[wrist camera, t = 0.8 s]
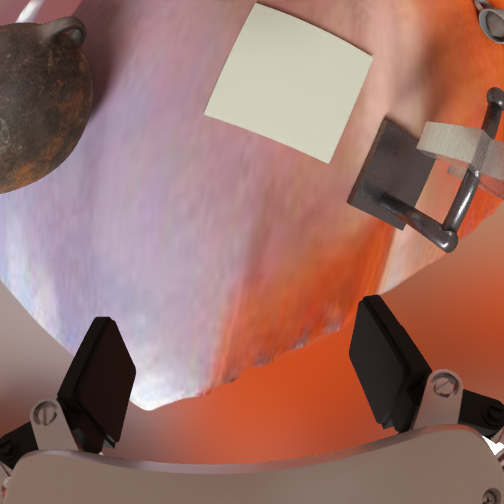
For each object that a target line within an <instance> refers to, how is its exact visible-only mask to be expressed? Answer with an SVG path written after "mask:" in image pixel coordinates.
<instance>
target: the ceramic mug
mask: <svg viewBox="0 0 504 504" xmlns="http://www.w3.org/2000/svg"><path fill="white" fill-rule="evenodd" d="M479 2H480V3H482V4H484V5H485V6H486V7H487V9H484V8H483V7H482V6H481V4H480V3H479ZM474 4H475V6H476V8H477V9H478V10H479V11H480V14H479V23H480V26H481V28H482V30H483V32H484V33H485V34H486V36H487V37H488V38H490V39H491V40H492V41H494V42H496V43H500V44H504V10H503V9H495V8H494V7H493V6H492V5H491V4H490V3H489V2H487V1H486V0H474Z"/></svg>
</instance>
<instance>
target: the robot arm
mask: <svg viewBox="0 0 504 504" xmlns="http://www.w3.org/2000/svg"><path fill="white" fill-rule="evenodd" d="M349 356H350V360H351V362H352V364H353V366H354V369H355V371H356V373H357V376H358V378H359V381H360V383H361V385H362V388H363V390H364V392H365V395H366V397H367V400H368V402H369V405H370V407H371V409H372V412H373V414H374V417H375V419H376V421H377V423H379V424H380V423H381V424H382V427H383V429H387V428H390V427H393V426H394V428H395V430H396V431H397V433H396V435H394V436H390V437H387V438H384V439H381V440H377V441H373V442H370V443H366V444H363V445H359V446H354V447H350V448H346V449H342V450H337V451H333V452H328V453H323V454H318V455H312V456H306V457H300V458H294V459H287V460H279V461H269V462H260V463H246V464H222V465H195V464H171V463H158V462H147V461H138V460H131V459H123V458H116V457H110V456H104V455H103V454H102V452H101V451H102V448H103V447H106V448H112V449H114V448H115V443H116V442H119V440H120V436H121V431H122V427H123V422H124V419H125V414H126V410H127V406H128V402H129V398H130V395H131V391H132V387H133V383H134V380H135V376H136V368H135V365H134V363H133V361H132V359H131V357H130V355H129V352H128V350H127V348H126V346H125V343H124V341H123V339H122V336H121V334H120V332H119V329H118V327H117V324H116V322H115V321H114V320H112V319H111V318H110V317H95V319H94V320H93V322H92V324H91V326H90V328H89V330H88V331H87V333H86V335H85V337H84V339H83V341H82V343H81V345H80V347H79V349H78V351H77V353H76V355H75V357H74V359H73V361H72V363H71V365H70V367H69V370H68V372H67V374H66V376H65V378H64V380H63V382H62V385H61V387H60V389H59V392H58V394H57V395H58V397H57V399H56V400H55V399H52V398H44V399H41V400H40V401H38V402H37V403H36V404H35V405H34V406H33V408H32V409H31V413H30V420H31V421H30V422H28V423H26V424H24V425H23V426H21V427H19V428H17V429H15V430H13V431H11V432H10V433H8V434H6V435H4V436H3V437H2V438H1V439H0V504H504V405H503V404H502V403H501V402H500V401H498V400H496V399H493V398H490V397H486V396H483V395H480V394H477V393H474V392H470V391H468V390H465V389H463V383H462V381H461V379H460V378H459V376H458V375H457V374H455V373H454V372H453V371H450V370H446V369H439V370H436V371H434V372H432V370H431V368H430V367H429V365H428V363H427V362H426V360H425V359H424V357H423V356H422V354H421V353H420V351H419V350H418V348H417V347H416V345H415V344H414V342H413V341H412V339H411V338H410V336H409V335H408V334H407V332H406V330H405V329H404V328H403V326H402V325H400V323H399V322H398V321H397V319H396V318H395V316H394V315H393V313H392V312H391V311H390V310H389V308H388V306H387V305H386V304H385V302H384V301H383V300H382V298H381V297H380V296H379V295H371V296H365V297H364V298H363V300H362V301H360V302H359V304H358V310H357V315H356V321H355V326H354V330H353V335H352V340H351V344H350V349H349Z"/></svg>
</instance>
